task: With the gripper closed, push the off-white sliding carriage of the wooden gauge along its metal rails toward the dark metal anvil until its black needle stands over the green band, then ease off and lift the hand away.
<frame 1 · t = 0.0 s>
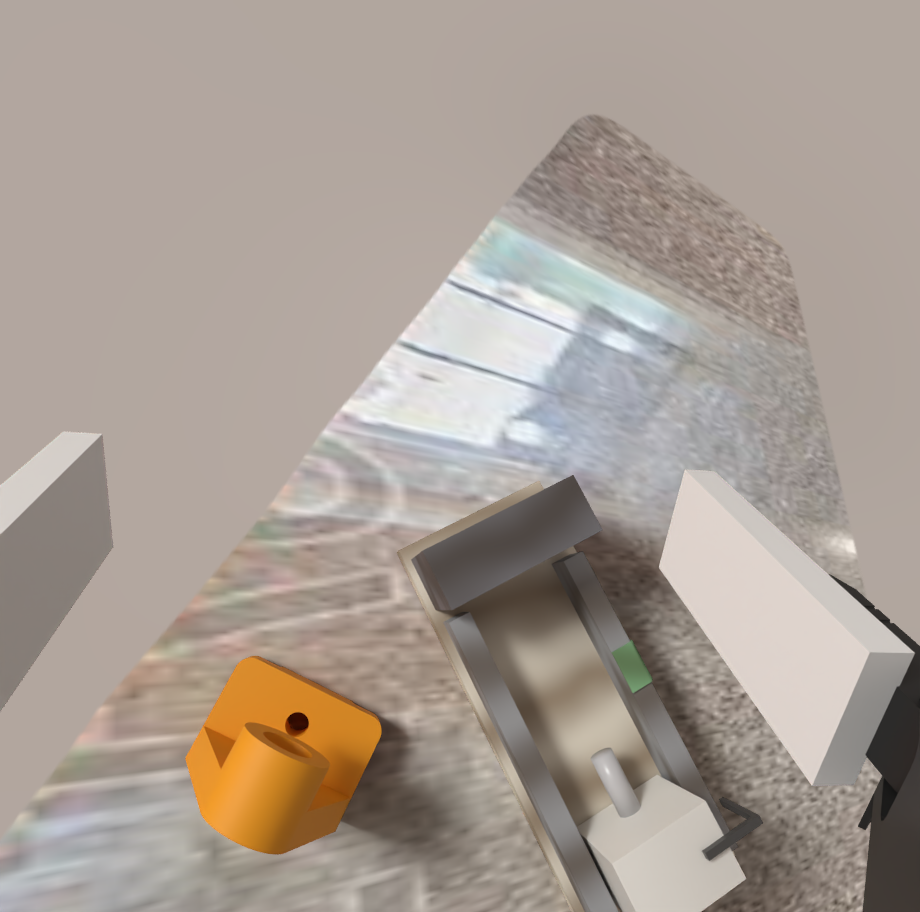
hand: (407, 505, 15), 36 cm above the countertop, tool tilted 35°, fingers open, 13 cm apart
bracket: (292, 732, 47), on the countertop
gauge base: (557, 697, 50), on the countertop
gauge carriage: (657, 812, 44), point 6 cm above the countertop, slide at 0.0 cm
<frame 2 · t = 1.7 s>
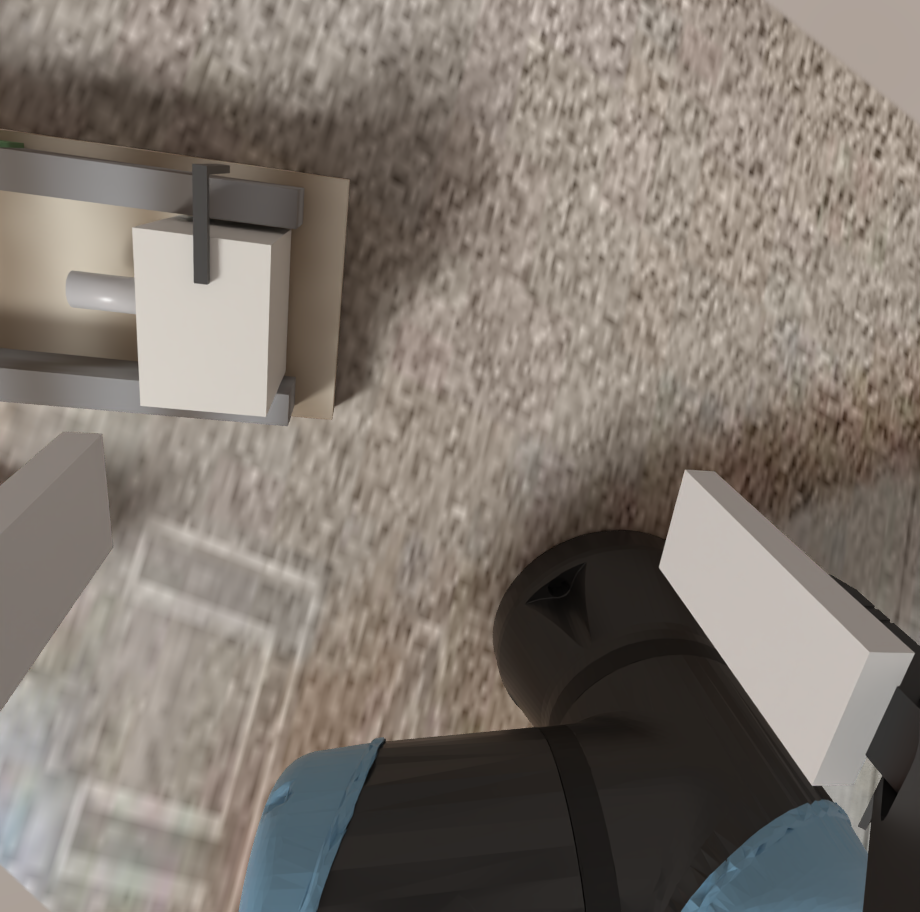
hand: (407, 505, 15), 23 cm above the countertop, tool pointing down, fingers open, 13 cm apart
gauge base: (34, 264, 33), on the countertop
gauge carriage: (171, 277, 29), point 6 cm above the countertop, slide at 0.0 cm
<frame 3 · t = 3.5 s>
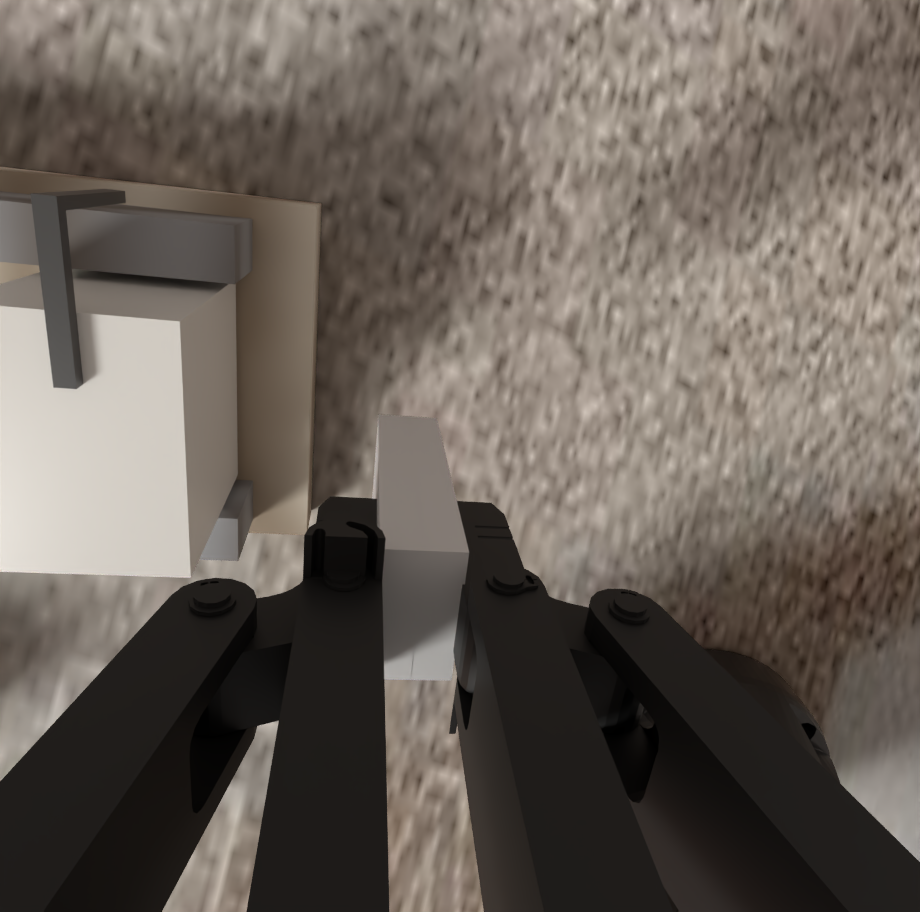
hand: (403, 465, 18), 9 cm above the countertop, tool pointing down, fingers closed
gauge carriage: (44, 363, 19), point 6 cm above the countertop, slide at 0.0 cm
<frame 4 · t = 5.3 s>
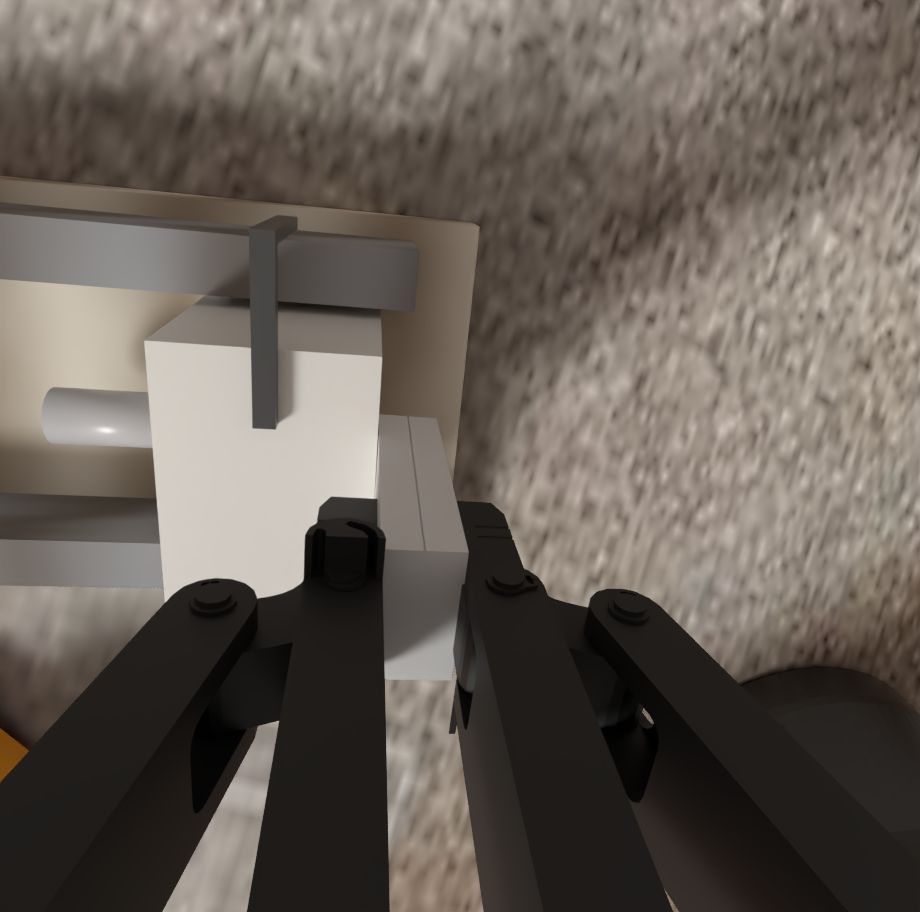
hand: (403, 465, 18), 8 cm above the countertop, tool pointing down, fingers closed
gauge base: (14, 365, 23), on the countertop
gauge carriage: (207, 396, 18), point 6 cm above the countertop, slide at 0.4 cm, touching gripper
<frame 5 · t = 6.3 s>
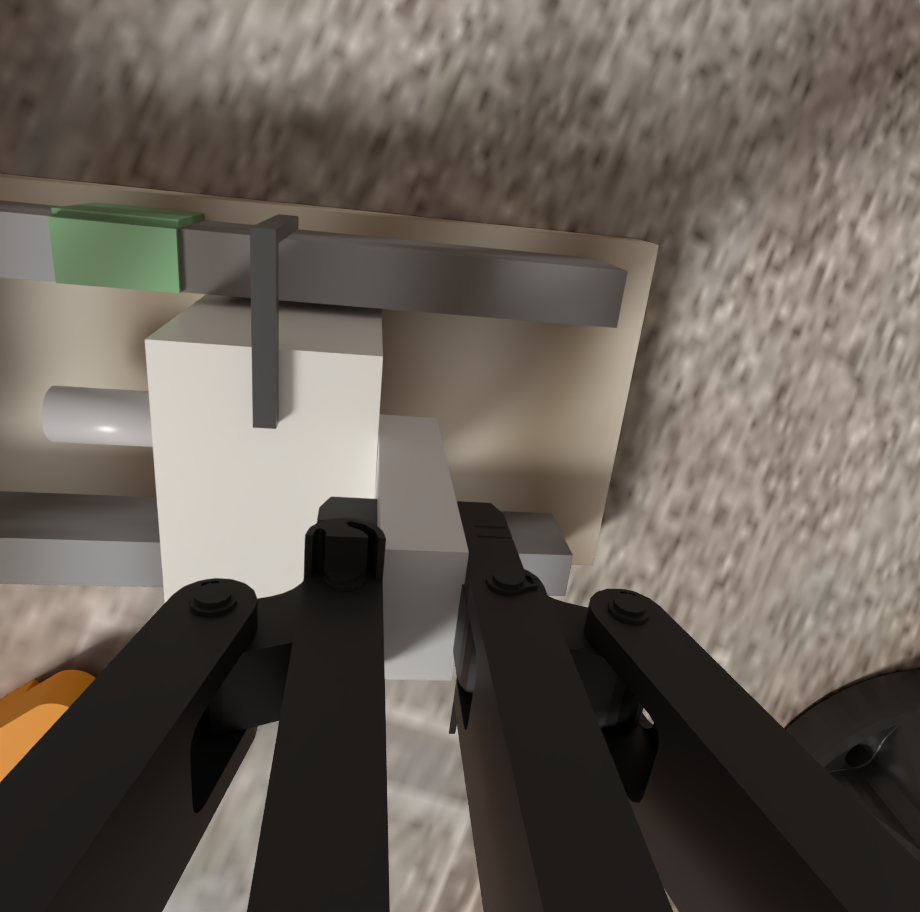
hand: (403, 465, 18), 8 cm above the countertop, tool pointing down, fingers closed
bracket: (49, 757, 30), on the countertop
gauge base: (195, 375, 24), on the countertop
gauge carriage: (208, 395, 18), point 6 cm above the countertop, slide at 6.2 cm, touching gripper
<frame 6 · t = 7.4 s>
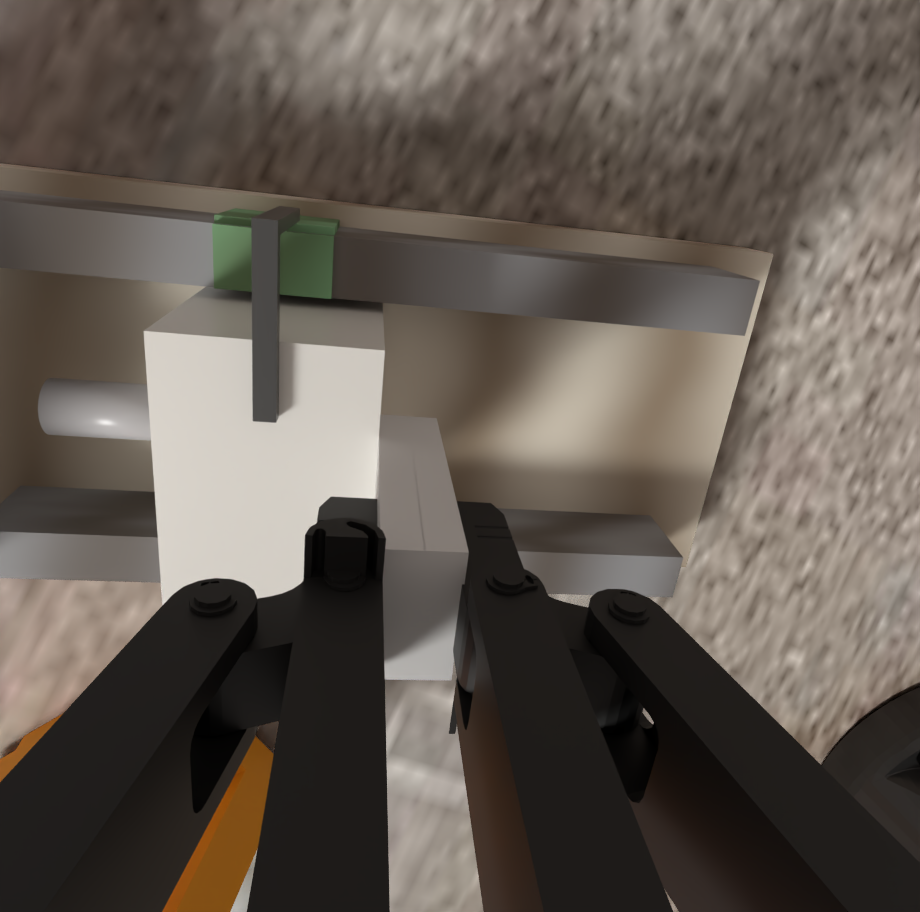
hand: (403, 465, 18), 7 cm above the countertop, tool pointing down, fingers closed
bracket: (137, 752, 30), on the countertop
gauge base: (307, 377, 24), on the countertop
gauge carriage: (207, 389, 18), point 6 cm above the countertop, slide at 10.1 cm, touching gripper
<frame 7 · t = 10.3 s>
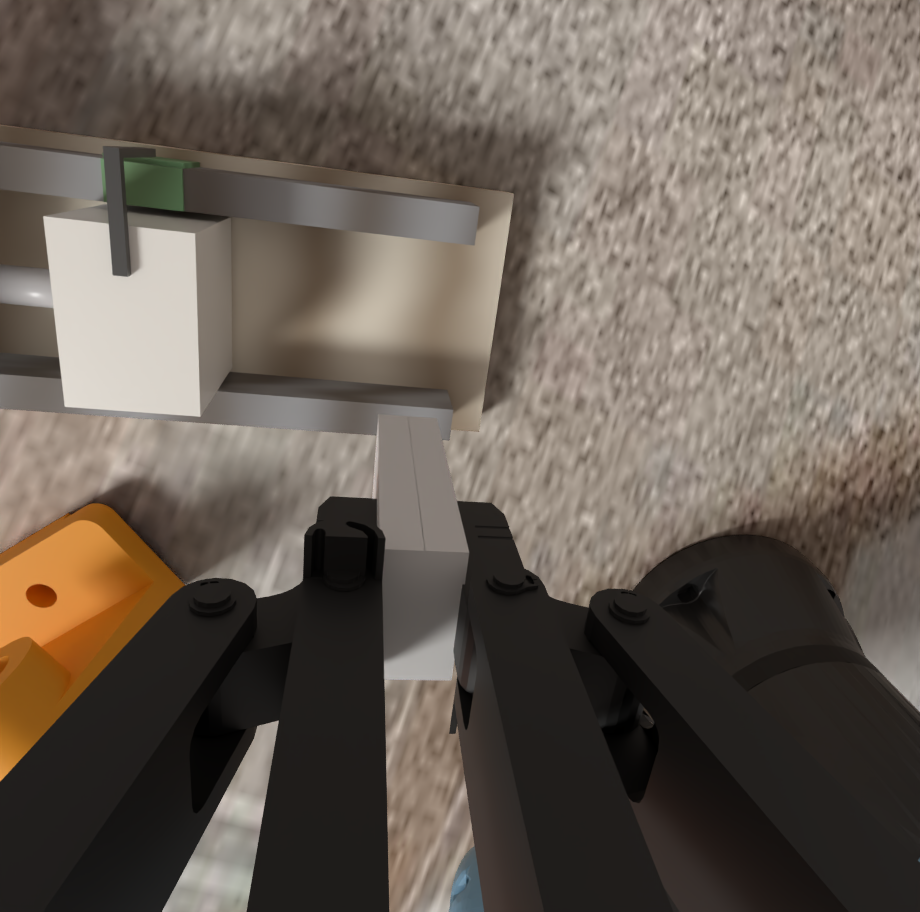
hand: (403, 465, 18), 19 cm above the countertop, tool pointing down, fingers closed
bracket: (77, 579, 39), on the countertop
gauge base: (191, 281, 33), on the countertop
gauge carriage: (98, 269, 27), point 6 cm above the countertop, slide at 10.2 cm
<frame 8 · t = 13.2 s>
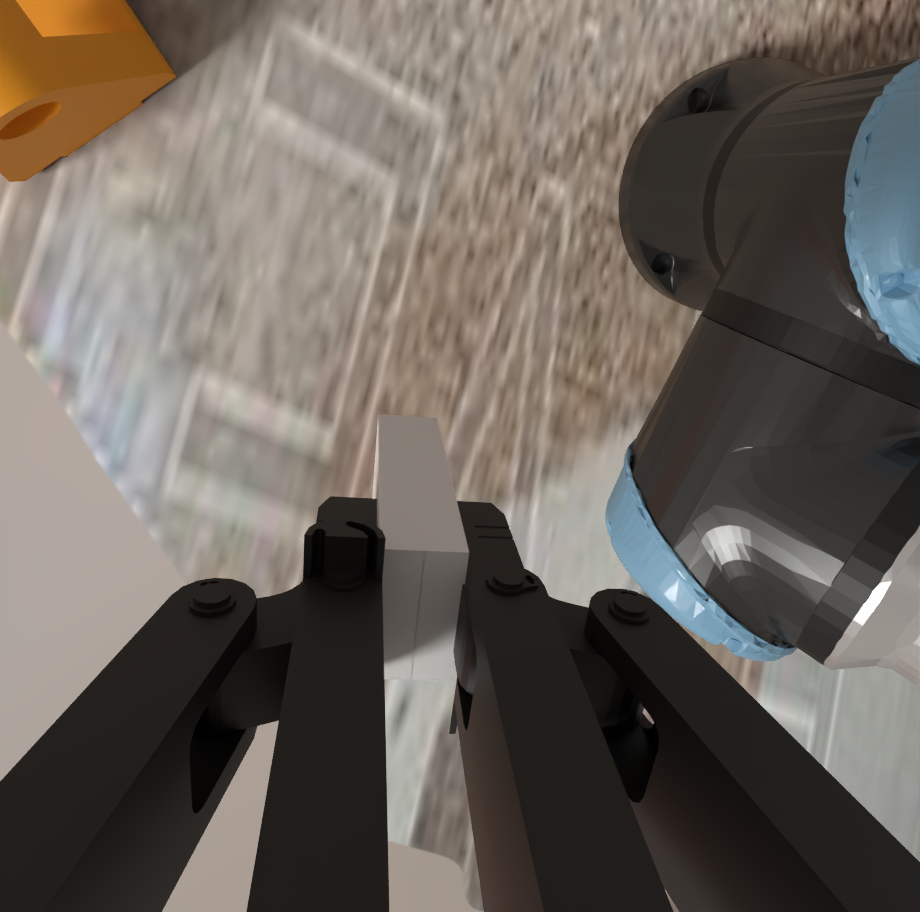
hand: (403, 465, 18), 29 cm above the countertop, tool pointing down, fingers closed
bracket: (61, 68, 38), on the countertop
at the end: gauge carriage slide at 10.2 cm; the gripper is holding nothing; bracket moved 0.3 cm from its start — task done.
